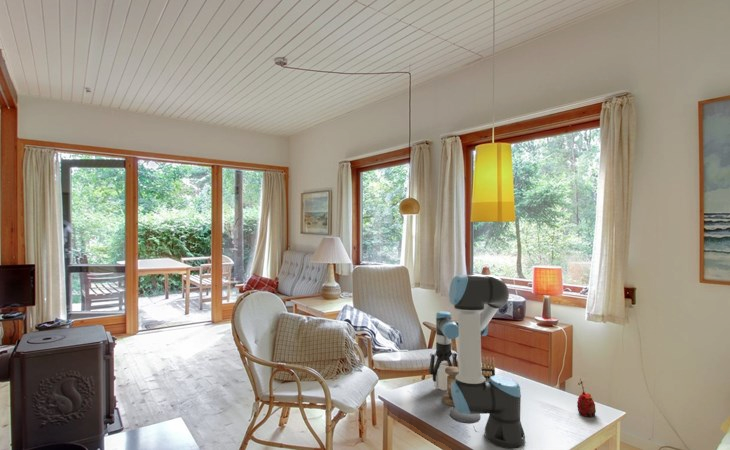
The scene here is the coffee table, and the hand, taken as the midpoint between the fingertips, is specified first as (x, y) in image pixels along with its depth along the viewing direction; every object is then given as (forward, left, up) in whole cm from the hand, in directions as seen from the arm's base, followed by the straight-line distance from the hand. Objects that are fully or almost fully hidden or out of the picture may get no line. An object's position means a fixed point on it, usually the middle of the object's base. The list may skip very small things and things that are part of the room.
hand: (443, 386), depth 194 cm
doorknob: (-13, 0, -1) cm, 13 cm away
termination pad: (-26, 0, -1) cm, 26 cm away
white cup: (0, 0, -1) cm, 1 cm away
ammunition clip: (+10, -28, -2) cm, 30 cm away
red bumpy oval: (-34, -54, -2) cm, 64 cm away
